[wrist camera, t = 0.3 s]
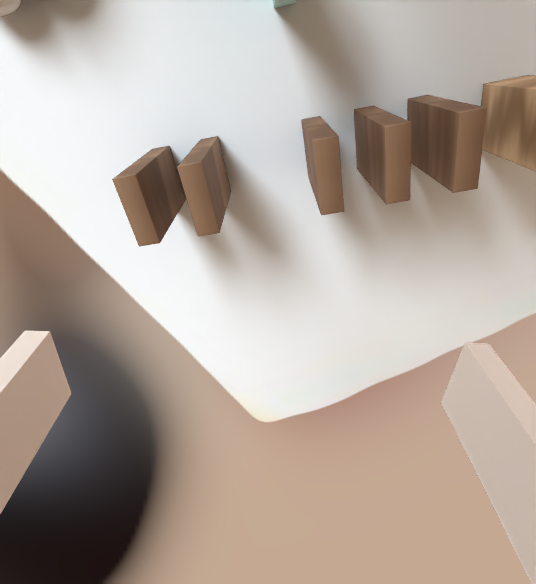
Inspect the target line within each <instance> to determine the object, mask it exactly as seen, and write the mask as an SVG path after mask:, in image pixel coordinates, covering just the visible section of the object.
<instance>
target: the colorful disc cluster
mask: <svg viewBox="0 0 536 584" xmlns="http://www.w3.org/2000/svg"><path fill="white" fill-rule="evenodd" d="M20 3H21V0H0V16H4V15H8V14H10V13H12V12H14V11H15V10H17V9H18V7H19V5H20Z"/></svg>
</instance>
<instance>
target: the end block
mask: <svg viewBox="0 0 536 584" xmlns="http://www.w3.org/2000/svg"><path fill="white" fill-rule="evenodd" d="M481 107H485V108H487V111H486V120H485V128H484V137H483V146H482V149H483V150H485V151H488V152H490V153H492V154H495V155H497V156H500V157H502V158H504V159H507V160H509V161H512V162H514V163H516V164H519V165H521V166H524V167H526V168H528V169H531V170H533V171H536V76H534V75H527V76H521V77H516V78H511V79H506V80H501V81H496V82H491V83H486V84H483V93H482V103H481Z"/></svg>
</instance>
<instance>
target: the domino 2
mask: <svg viewBox="0 0 536 584" xmlns="http://www.w3.org/2000/svg"><path fill="white" fill-rule="evenodd" d="M177 169H178V172H179V175H180V178H181V182H182V185H183V188H184V192H185V195H186V198H187V202H188V205H189V208H190V211H191V215H192V218H193V221H194V225H195V228H196V231H197V235H198V236H204V235H210V234H216V233H220V229H221V226H222V222H223V219H224V215H225V211H226V208H227V204H228V201H229V197H230V194H231V189H230V185H229V180H228V176H227V172H226V168H225V163H224V159H223V155H222V151H221V146H220V142H219V138H218V136H216V137H211V138H206V139H201V140H200V141H199V142H198V143H197V144H196V145H195V147H194V148H193V149H192V150H191V151H190V153H189V154H188V155H187V156H186V157H185V158H184V160H183V161H182V162H181V163H180V164H179V165H178V167H177Z"/></svg>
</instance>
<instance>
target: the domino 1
mask: <svg viewBox="0 0 536 584" xmlns="http://www.w3.org/2000/svg"><path fill="white" fill-rule="evenodd" d="M112 180H113V182H114V185H115V187H116V190H117V192H118V195H119V197H120V200H121V202H122V205H123V207H124V210H125V212H126V215H127V217H128V220H129V222H130V225H131V227H132V230H133V232H134V235H135V237H136V240H137V242H138V245H139V246H145V245H151V244H157V243H160V242H161V240H162V239H163V237H164V235H165V234H166V232H167V230H168V228H169V227H170V225H171V223H172V222H173V220H174V218H175V217H176V215H177V213H178V212H179V210H180V208H181V207H182V205H183V203H184V202H185V196H184V193H183V190H182V186H181V183H180V180H179V177H178V173H177V170H176V167H175V163H174V160H173V157H172V154H171V150H170V147H169V146H166V147H160V148H155V149H152V150H150V151H149V152H148V153H146V154H145V155H144V156H142V157H141V158H140V159H138V160H137V161H136V162H134V163H133V164H132V165H131V166H129V167H128V168H127V169H125V170H124V171H123V172H121V173H120V174H119V175H117V176H116V177H115V178H113V179H112Z"/></svg>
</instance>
